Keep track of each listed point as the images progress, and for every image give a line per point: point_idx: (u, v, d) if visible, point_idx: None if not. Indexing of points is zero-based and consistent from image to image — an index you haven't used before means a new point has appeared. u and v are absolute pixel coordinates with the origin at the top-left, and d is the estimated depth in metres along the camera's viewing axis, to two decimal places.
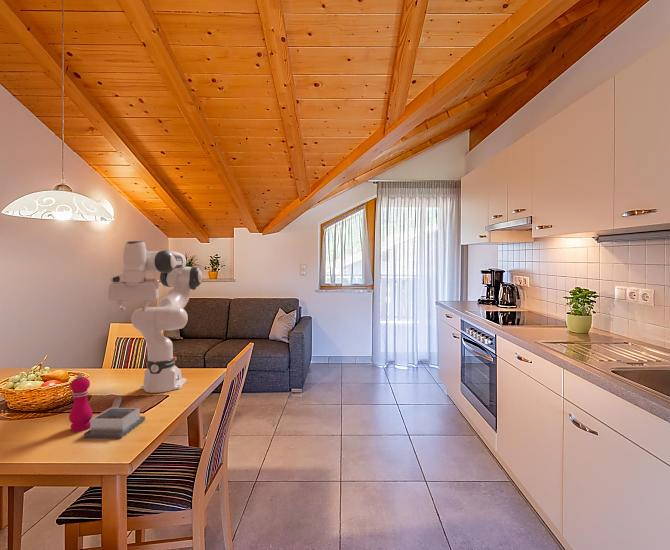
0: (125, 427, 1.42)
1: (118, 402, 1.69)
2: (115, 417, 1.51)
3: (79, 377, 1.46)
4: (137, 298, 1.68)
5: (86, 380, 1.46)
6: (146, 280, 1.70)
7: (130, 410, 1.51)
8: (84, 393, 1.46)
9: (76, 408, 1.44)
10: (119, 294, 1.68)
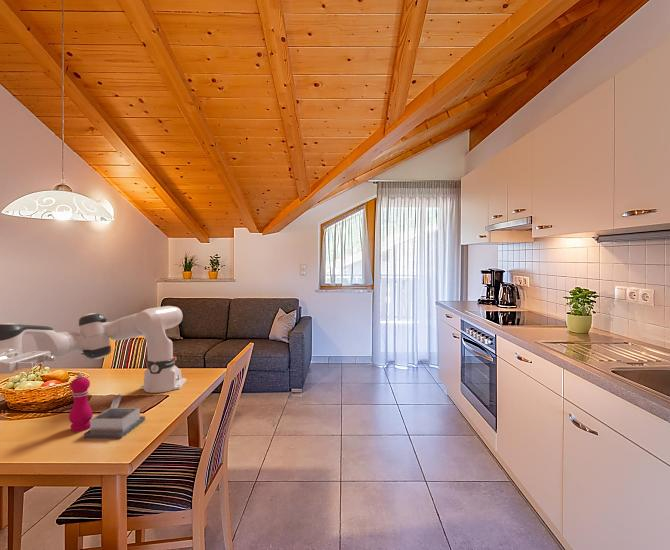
0: (125, 427, 1.42)
1: (118, 400, 1.69)
2: (115, 417, 1.51)
3: (79, 377, 1.46)
4: (34, 354, 1.50)
5: (86, 380, 1.46)
6: None
7: (130, 410, 1.51)
8: (84, 393, 1.46)
9: (76, 408, 1.44)
10: (12, 359, 1.42)
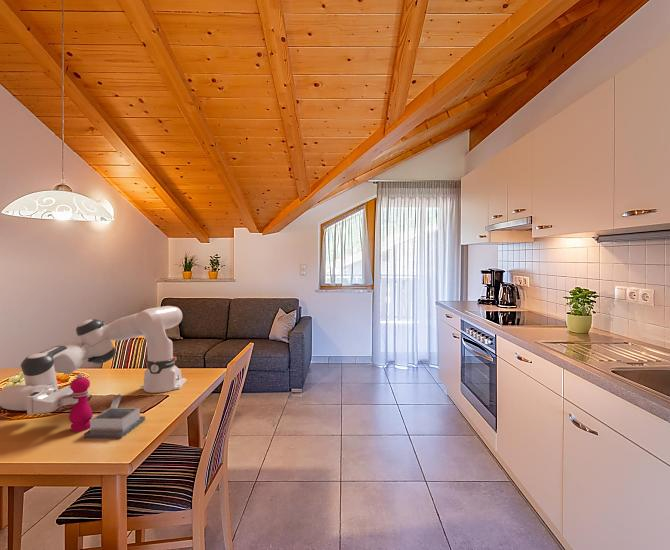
0: (125, 427, 1.42)
1: (117, 400, 1.69)
2: (115, 417, 1.51)
3: (79, 377, 1.46)
4: None
5: (86, 380, 1.46)
6: None
7: (130, 410, 1.51)
8: (84, 393, 1.46)
9: (76, 408, 1.44)
10: (53, 397, 1.42)
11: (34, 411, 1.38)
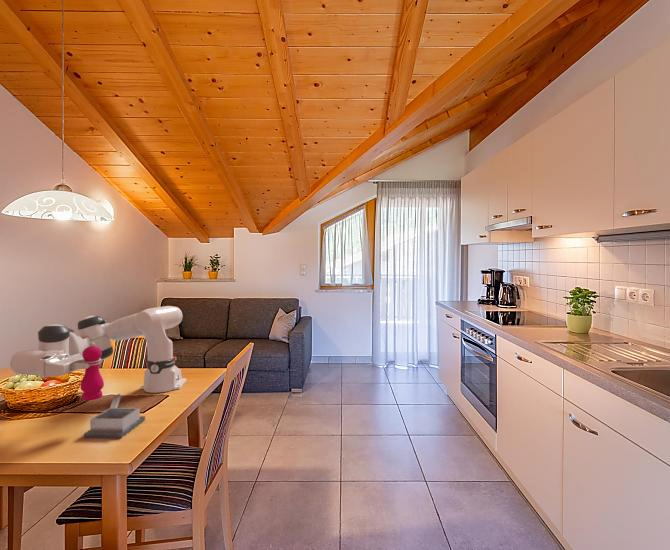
0: (125, 427, 1.42)
1: (117, 400, 1.69)
2: (115, 417, 1.51)
3: (91, 346, 1.45)
4: None
5: (98, 349, 1.45)
6: None
7: (130, 410, 1.51)
8: (96, 362, 1.45)
9: (88, 376, 1.43)
10: (65, 361, 1.41)
11: (46, 374, 1.37)
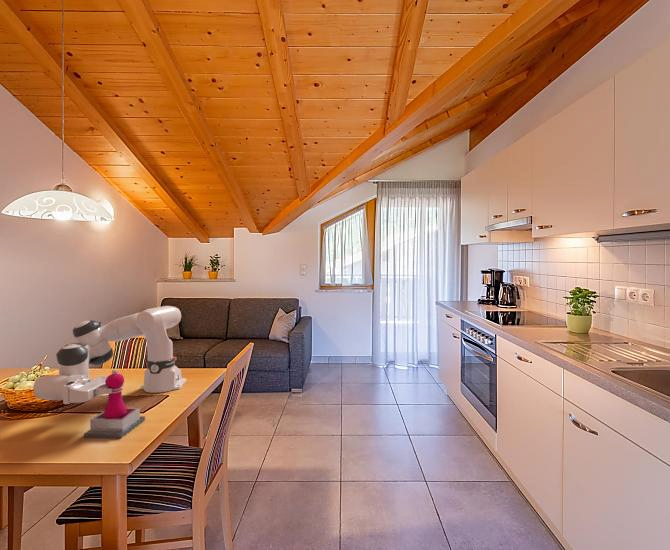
0: (125, 427, 1.42)
1: None
2: None
3: (114, 373, 1.45)
4: None
5: (121, 377, 1.46)
6: None
7: (130, 410, 1.51)
8: (119, 389, 1.45)
9: (111, 404, 1.44)
10: (88, 387, 1.41)
11: (70, 400, 1.37)
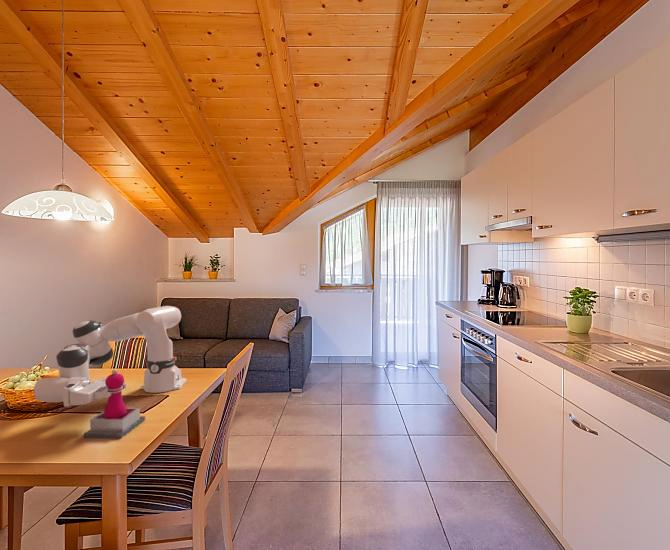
0: (125, 427, 1.42)
1: None
2: None
3: (114, 373, 1.45)
4: None
5: (121, 377, 1.46)
6: None
7: (130, 410, 1.51)
8: (119, 389, 1.45)
9: (111, 404, 1.44)
10: (89, 389, 1.41)
11: (71, 403, 1.37)
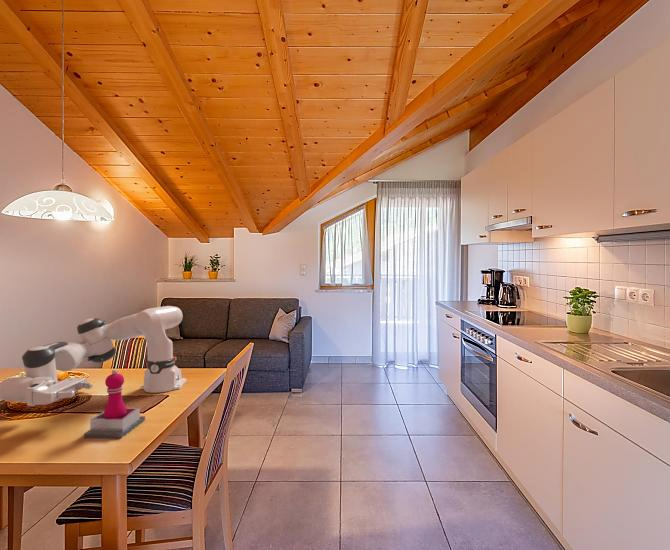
0: (125, 427, 1.42)
1: None
2: None
3: (114, 373, 1.45)
4: (72, 382, 1.49)
5: (121, 377, 1.46)
6: None
7: (130, 410, 1.51)
8: (119, 389, 1.45)
9: (111, 404, 1.44)
10: (52, 389, 1.42)
11: (34, 402, 1.38)
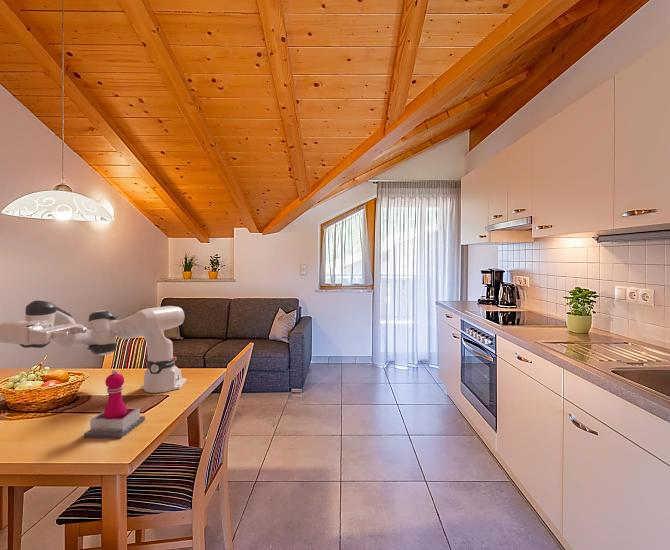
0: (125, 427, 1.42)
1: None
2: None
3: (114, 373, 1.45)
4: (67, 326, 1.54)
5: (121, 377, 1.46)
6: None
7: (130, 410, 1.51)
8: (119, 389, 1.45)
9: (111, 404, 1.44)
10: (48, 329, 1.46)
11: (30, 341, 1.42)
